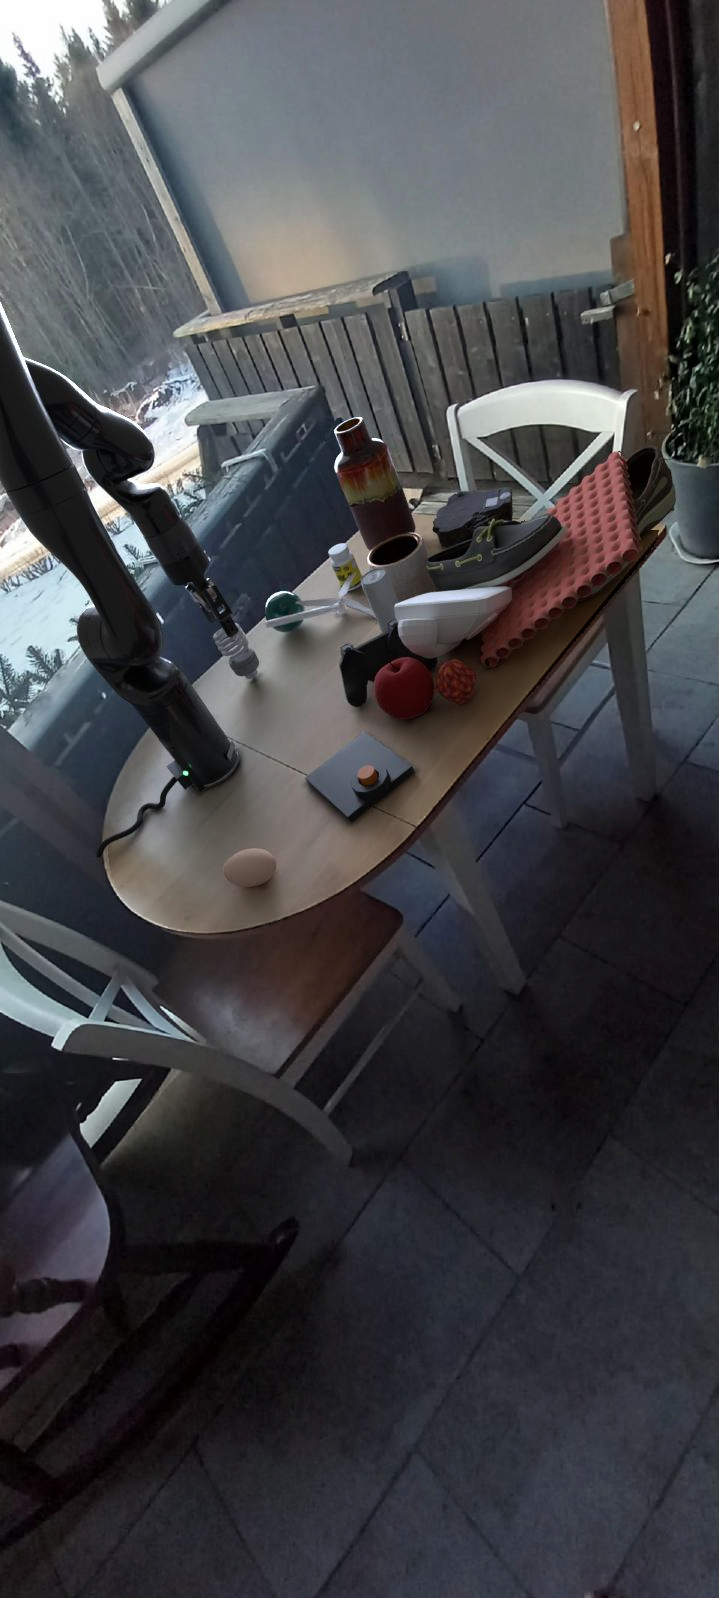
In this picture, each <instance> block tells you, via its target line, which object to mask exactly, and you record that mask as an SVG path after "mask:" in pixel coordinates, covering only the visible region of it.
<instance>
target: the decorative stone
mask: <svg viewBox="0 0 719 1598" xmlns="http://www.w3.org/2000/svg"><path fill="white" fill-rule="evenodd" d="M477 679H478V673H477V672H475V670H473V669H472V668H471V667H470V666H468V665H467V664H466V663H465V662H463V661H461V660H459V659H456V658H454V659H449V660H448V661H445V662H442V663H441V666H440V667H439V669H438V671H437V675H436V680H435V684H434V686H435V689H434V692H436V693H438V694H439V695H441V697H443V698H444V699H446V700H447V701H449V702H450V703H452V704H454V705H456V706H458V705H461V704H464V703H466V702H469V701H470V700H471V698H472V696H473V695H474V690H475V687H476V682H477Z"/></svg>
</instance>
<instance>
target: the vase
mask: <svg viewBox="0 0 719 1598" xmlns="http://www.w3.org/2000/svg"><path fill="white" fill-rule="evenodd" d="M333 431H334V435H335V438H336V440H337V443H338V446H339V449H340V452H339V454H338V455H337V456H336V458H335V461H334V466H333V468H334V472H335V475H336V477H337V481H338V482H339V485H340V488H341V489H342V493H343V494H344V497H345V499H346V500H345V501H346V502H347V504H348V506H349V509H350V512H351V514H352V516H353V518H354V522H355V524H356V526H357V528H358V531H359V533H360V536H361V538H362V540H363V542H364V544H365V545H364V546H365V547H366V549H367V550H368V551H369V552H370V551H371V550H372V549H373V548H374V547H375V546H376V545H378V544H379V543H380V542H382V541H384V540H386V539H388V538H390V537H392V536H395V535H398V534H402V533H415V532H416V528H417V527H416V523H415V520H414V517H413V514H412V511H411V507H410V505H409V502H408V499H407V496H406V494H405V491H404V488H403V485H402V482H401V480H400V476H399V473H398V471H397V468H396V465H395V462H394V459H393V457H392V454H391V451H390V448H389V447H388V444H387V443H386V442H385V441H384V440H382V439H380V438H377V437H371V436H370V433H369V431H368V428H367V425H366V423H365V421H364V418H363V417H362V416H361V417H360V416H356V417H352V418H349V419H347V420H345V421H343V422H342V423H340V424H338V425H337V426H336V427H335V429H334V430H333Z"/></svg>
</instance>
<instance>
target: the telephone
mask: <svg viewBox="0 0 719 1598" xmlns="http://www.w3.org/2000/svg"><path fill="white" fill-rule="evenodd" d="M511 600H512V590H511V587H506V586H501V587H485V588H474V589H463V590H452V591H442V592H435V591H434V592H431V593H426V594H422V595H419V596H416V597H413V598H410V599H408V600H405V601H402V602H400V603H397V604H395V606H394V610H395V617H396V619H397V621H398V622H399V623H398V632H399V637H400V638H401V640H402V642H403V644H404V645H405V646H406V647H407V648H408V649H409V650H410V651H412V652H413V653H415V654H418V655H420V656H423V657H425V658H430V659H431V658H435V657H437V658H438V657H441V656H443V655H446V654H448V653H449V652H450V651H453V650H454V649H455V648H457V647H459V646H460V645H461V643H462V641H464V639H466V640H467V641H469V640H471V639H473V638H475V636H477V635H478V634H480V633H481V632H482V631H483V629H485V628H486V627H487V626H488V625H489V624H490V623H492V622H493V621H494V620H495V619H496V618H497V616H498V615H499V614H500V613H501V612H502V611H503V610H504V609H505V608H506V607H507V606H508V605H509V604H510V602H511Z"/></svg>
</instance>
